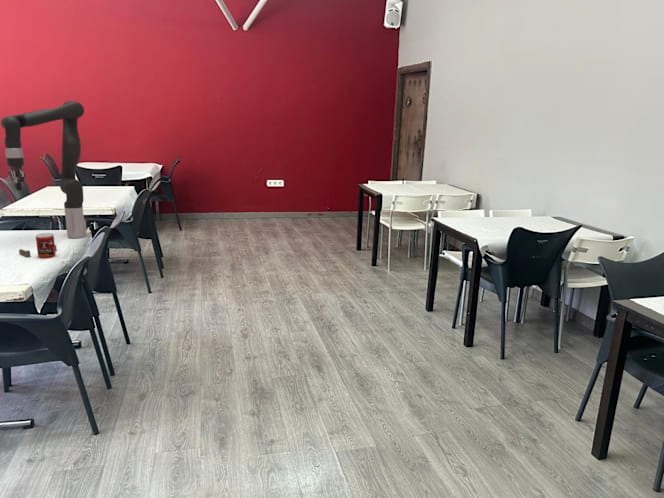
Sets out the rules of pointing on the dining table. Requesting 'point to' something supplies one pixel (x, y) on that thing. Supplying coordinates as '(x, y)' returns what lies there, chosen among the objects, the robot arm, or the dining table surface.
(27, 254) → the posts
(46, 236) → the canned food
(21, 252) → the channel walls
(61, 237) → the dining table surface
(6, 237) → the dining table surface
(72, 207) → the robot arm
